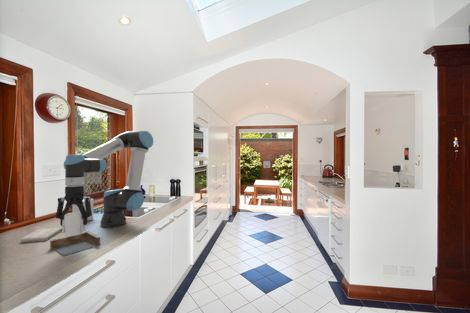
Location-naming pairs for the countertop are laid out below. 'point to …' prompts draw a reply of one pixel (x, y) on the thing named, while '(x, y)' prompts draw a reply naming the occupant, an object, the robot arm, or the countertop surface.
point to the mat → (73, 248)
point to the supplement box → (76, 209)
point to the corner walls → (75, 240)
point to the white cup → (72, 223)
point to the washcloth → (41, 235)
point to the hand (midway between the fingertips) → (73, 231)
